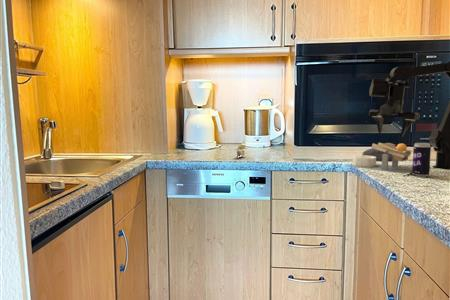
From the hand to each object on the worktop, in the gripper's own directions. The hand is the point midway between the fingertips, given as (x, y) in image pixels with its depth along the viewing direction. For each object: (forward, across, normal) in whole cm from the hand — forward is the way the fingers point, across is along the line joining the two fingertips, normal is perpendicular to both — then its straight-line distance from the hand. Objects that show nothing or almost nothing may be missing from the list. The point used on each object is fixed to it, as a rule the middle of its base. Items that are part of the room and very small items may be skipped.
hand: (390, 135), depth 154 cm
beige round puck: (+13, -6, -9) cm, 17 cm away
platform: (+20, -62, -25) cm, 69 cm away
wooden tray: (+7, +4, -5) cm, 10 cm away
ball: (+4, +9, -10) cm, 13 cm away
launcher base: (+14, +2, -9) cm, 16 cm away
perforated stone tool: (+14, -7, +9) cm, 18 cm away
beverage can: (+13, +17, -10) cm, 24 cm away
